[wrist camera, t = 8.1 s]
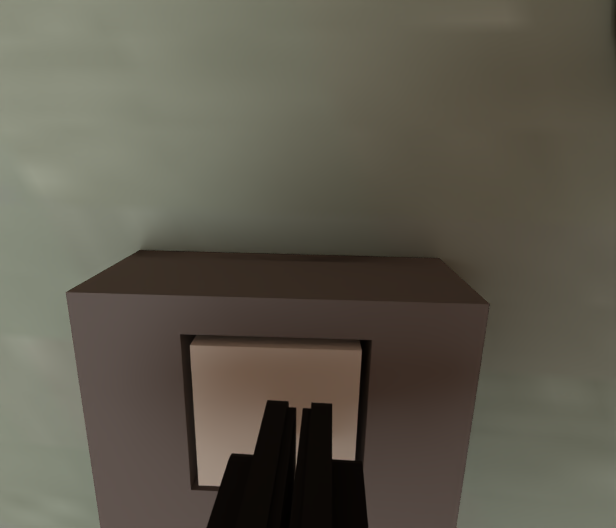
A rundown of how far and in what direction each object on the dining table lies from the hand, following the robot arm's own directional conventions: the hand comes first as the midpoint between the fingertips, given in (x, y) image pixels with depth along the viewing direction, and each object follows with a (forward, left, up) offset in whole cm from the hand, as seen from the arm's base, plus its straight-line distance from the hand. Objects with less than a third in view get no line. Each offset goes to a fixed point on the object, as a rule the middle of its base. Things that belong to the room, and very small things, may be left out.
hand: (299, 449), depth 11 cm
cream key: (+1, -1, -6) cm, 6 cm away
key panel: (+10, -1, -7) cm, 12 cm away
